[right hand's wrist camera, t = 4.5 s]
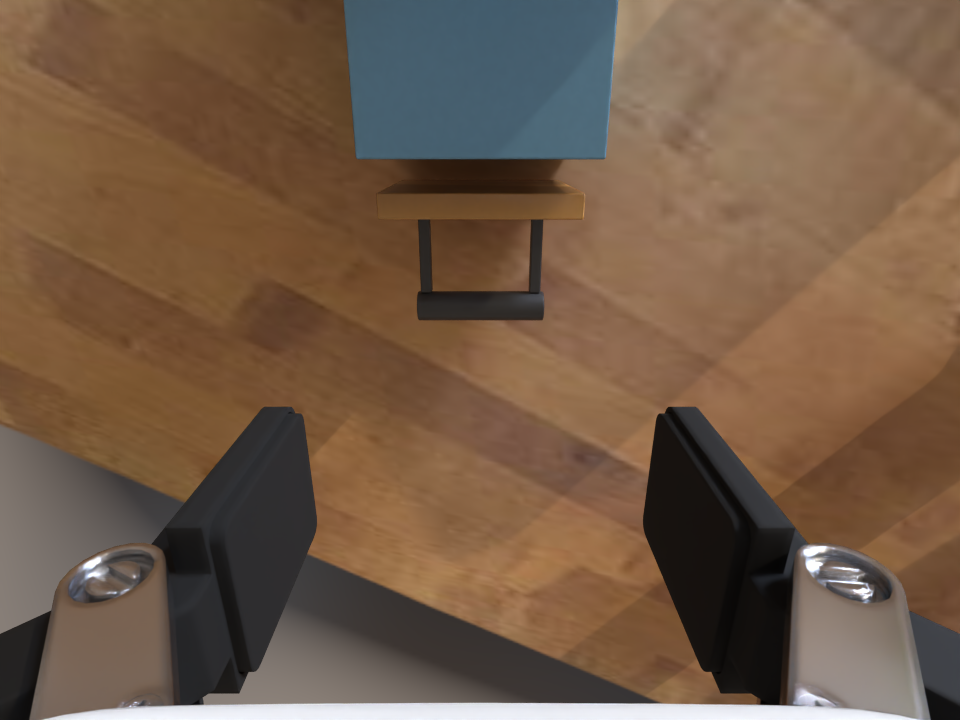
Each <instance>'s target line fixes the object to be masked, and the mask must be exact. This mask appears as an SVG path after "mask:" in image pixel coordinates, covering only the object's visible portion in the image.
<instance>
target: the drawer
mask: <svg viewBox="0 0 960 720" xmlns="http://www.w3.org/2000/svg"><path fill="white" fill-rule="evenodd" d="M376 199H377V214H378V219H418V228H419V253H420V277H421V291H419V292H418V295H417V315H418V319H419V320H543V316H544V294H543V292H542V291H540V284H541V260H542V236H543V220H582V219H583V218H584V206H585V193H583V192H581V191H579V190H577V189H575V188H573V187H571V186H569V185H567V184H565V183H563V182H561V181H559V180H402V181H400V182H398V183H396V184H394V185H392V186H390V187H388V188H386V189H384V190H383V191H381V192H379V193H377V194H376ZM430 219H476V220H531V236H530V265H529V291H432V290H433V288H432V257H431V226H430Z"/></svg>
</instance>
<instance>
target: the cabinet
mask: <svg viewBox="0 0 960 720" xmlns="http://www.w3.org/2000/svg"><path fill="white" fill-rule="evenodd" d="M617 10H618V0H344V13H345V25H346V38H347V51H348V64H349V76H350V89H351V102H352V115H353V128H354V140H355V153H356V158H357V159H605V158H606V148H607V135H608V123H609V110H610V98H611V85H612V73H613V60H614V48H615V35H616V23H617Z"/></svg>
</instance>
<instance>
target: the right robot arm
mask: <svg viewBox="0 0 960 720" xmlns="http://www.w3.org/2000/svg"><path fill="white" fill-rule="evenodd" d="M316 526H317V515H316V508H315V500H314V493H313V485H312V478H311V470H310V463H309V455H308V448H307V440H306V433H305V425H304V419H303V416H302V414H295V411H294V409H293V408H292V407H264V408H262V409H261V410H260V412H259V413H258V414H257V415H256V417H255V418H254V419H253V420H252V422H251V423H250V424H249V425H248V426H247V428H246V429H245V430H244V431H243V433H242V434H241V435H240V436H239V437H238V439H237V440H236V441H235V442H234V444H233V445H232V446H231V447H230V448H229V450H228V451H227V452H226V453H225V455H224V456H223V457H222V458H221V459H220V461H219V462H218V463H217V464H216V466H215V467H214V468H213V469H212V471H211V472H210V473H209V474H208V475H207V477H206V478H205V479H204V480H203V482H202V483H201V484H200V485H199V486H198V488H197V489H196V490H195V491H194V493H193V494H192V495H191V496H190V497H189V499H188V500H187V501H186V502H185V504H184V505H183V506H182V507H181V509H180V510H179V511H178V512H177V513H176V515H175V516H174V517H173V518H172V520H171V521H170V522H169V523H168V524H167V526H166V527H165V528H164V530H163V531H162V532H161V533H160V534H159V536H158V537H157V538H156V539H155V541H154V542H153V543H152V544H147V543H130V544H125V545H120V546H115V547H112V548H109V549H107V550H104V551H101V552H99V553H97V554H95V555H93V556H91V557H89V558H87V559H85V560H83V561H82V562H81V563H79V564H78V565H77V566H75V567H74V568H72V569H71V570H70V571H69V572H68V573H67V574H66V575H65V576H64V577H63V579H62V580H61V581H60V582H59V585H58V587H57V589H56V591H55V595H54V600H53V605H52V610H51V611H49V612H47V613H45V614H43V615H41V616H38V617H36V618H34V619H32V620H30V621H28V622H25V623H23V624H21V625H19V626H17V627H14V628H12V629H10V630H8V631H6V632H4V633H1V634H0V720H960V634H959V633H956V632H954V631H952V630H950V629H948V628H946V627H943V626H941V625H939V624H937V623H935V622H932V621H930V620H928V619H926V618H924V617H922V616H919V615H917V614H915V613H913V612H911V611H909V610H908V605H907V600H906V595H905V591H904V589H903V587H902V585H901V582H900V581H899V580H898V579H897V577H896V576H895V575H894V574H893V573H892V572H891V571H890V570H889V569H888V568H886V567H885V566H883V565H882V564H881V563H879V562H878V561H877V560H875V559H873V558H871V557H869V556H867V555H865V554H863V553H862V552H859V551H856V550H853V549H851V548H848V547H845V546H840V545H835V544H830V543H813V544H808V543H807V542H806V541H805V539H804V538H803V537H802V536H801V534H800V533H799V532H798V531H797V530H796V528H795V527H794V526H793V524H792V523H791V522H790V521H789V520H788V518H787V517H786V516H785V515H784V513H783V512H782V511H781V510H780V508H779V507H778V506H777V505H776V504H775V502H774V501H773V500H772V499H771V497H770V496H769V495H768V494H767V493H766V491H765V490H764V489H763V488H762V486H761V485H760V484H759V483H758V482H757V480H756V479H755V478H754V477H753V475H752V474H751V473H750V472H749V471H748V469H747V468H746V467H745V466H744V464H743V463H742V462H741V461H740V459H739V458H738V457H737V456H736V455H735V453H734V452H733V451H732V450H731V448H730V447H729V446H728V445H727V444H726V442H725V441H724V440H723V439H722V437H721V436H720V435H719V434H718V433H717V431H716V430H715V429H714V428H713V426H712V425H711V424H710V423H709V422H708V420H707V419H706V418H705V417H704V415H703V414H702V413H701V412H700V411H699V409H698V408H696V407H668V408H667V409H666V411H665V414H658V416H657V419H656V425H655V432H654V440H653V448H652V455H651V463H650V470H649V478H648V485H647V493H646V500H645V508H644V515H643V527H644V532H645V536H646V538H647V540H648V543H649V545H650V548H651V550H652V552H653V555H654V557H655V559H656V562H657V564H658V567H659V569H660V571H661V574H662V576H663V579H664V581H665V583H666V586H667V588H668V590H669V593H670V595H671V598H672V600H673V602H674V605H675V607H676V609H677V612H678V614H679V617H680V619H681V621H682V624H683V626H684V629H685V631H686V633H687V636H688V638H689V640H690V643H691V645H692V648H693V650H694V652H695V655H696V657H697V659H698V662H699V664H700V666H701V668H702V669H703V670H704V671H705V672H712V674H713V677H714V679H715V681H716V683H717V686H718V688H719V690H720V693H751V694H753V695H754V696H756V697H758V698H757V703H756V705H733V704H592V703H590V704H589V703H371V704H370V703H369V704H227V705H204V704H203V698H202V697H204V696H206V695H207V694H209V693H240V690H241V688H242V686H243V683H244V681H245V679H246V676H247V674H248V672H254V671H256V670H257V669H258V668H259V666H260V664H261V662H262V659H263V657H264V655H265V652H266V650H267V648H268V645H269V643H270V640H271V638H272V636H273V633H274V631H275V628H276V626H277V624H278V621H279V619H280V617H281V614H282V612H283V609H284V607H285V605H286V602H287V600H288V597H289V595H290V593H291V590H292V588H293V586H294V583H295V581H296V578H297V576H298V574H299V571H300V569H301V567H302V564H303V562H304V559H305V557H306V555H307V552H308V550H309V548H310V545H311V543H312V540H313V538H314V536H315V532H316Z"/></svg>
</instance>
